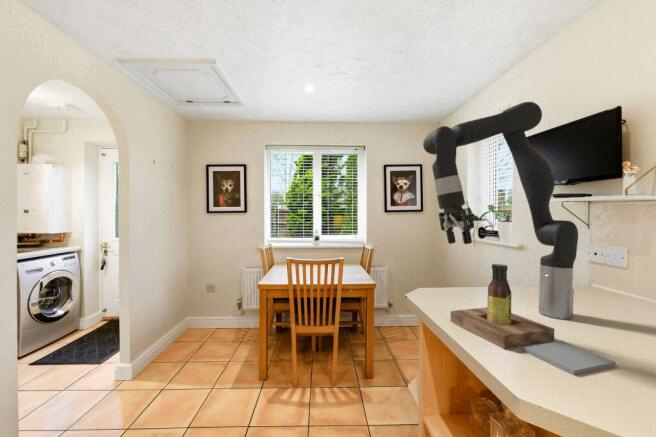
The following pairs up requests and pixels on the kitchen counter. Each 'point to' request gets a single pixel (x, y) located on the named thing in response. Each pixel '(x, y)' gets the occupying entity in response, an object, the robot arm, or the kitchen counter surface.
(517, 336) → the seat block
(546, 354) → the grey mat
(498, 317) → the sauce bottle
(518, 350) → the kitchen counter surface
